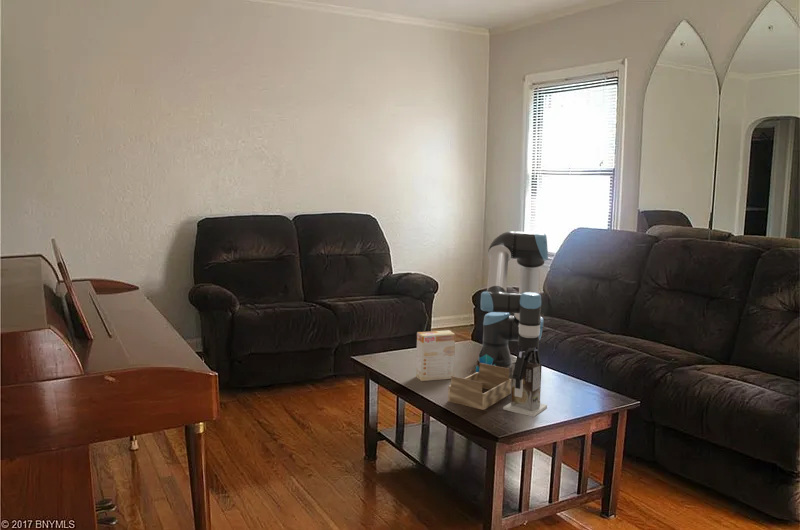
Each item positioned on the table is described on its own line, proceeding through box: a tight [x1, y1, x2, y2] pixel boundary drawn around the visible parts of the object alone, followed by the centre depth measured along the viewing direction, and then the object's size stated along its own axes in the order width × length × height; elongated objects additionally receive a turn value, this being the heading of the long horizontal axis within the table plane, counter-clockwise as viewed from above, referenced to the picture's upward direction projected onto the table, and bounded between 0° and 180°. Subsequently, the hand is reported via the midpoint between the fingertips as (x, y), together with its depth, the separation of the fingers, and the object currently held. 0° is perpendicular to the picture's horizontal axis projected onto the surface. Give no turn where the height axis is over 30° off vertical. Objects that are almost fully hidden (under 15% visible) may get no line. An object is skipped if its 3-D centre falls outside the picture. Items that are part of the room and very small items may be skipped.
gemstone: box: [475, 354, 495, 373], centre depth 271 cm, size 7×9×12 cm
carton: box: [447, 362, 512, 411], centre depth 250 cm, size 23×15×10 cm, turn 145°
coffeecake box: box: [415, 329, 456, 382], centre depth 273 cm, size 15×7×20 cm, turn 108°
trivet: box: [502, 401, 548, 418], centre depth 239 cm, size 12×12×1 cm
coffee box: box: [510, 361, 542, 411], centre depth 238 cm, size 9×6×16 cm
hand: (526, 391), depth 239 cm, fingers open, 13 cm apart
